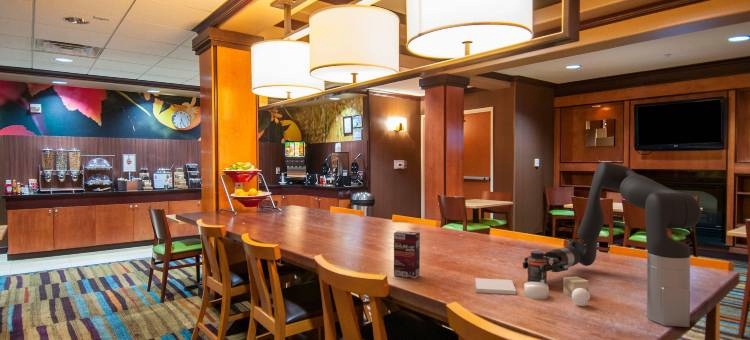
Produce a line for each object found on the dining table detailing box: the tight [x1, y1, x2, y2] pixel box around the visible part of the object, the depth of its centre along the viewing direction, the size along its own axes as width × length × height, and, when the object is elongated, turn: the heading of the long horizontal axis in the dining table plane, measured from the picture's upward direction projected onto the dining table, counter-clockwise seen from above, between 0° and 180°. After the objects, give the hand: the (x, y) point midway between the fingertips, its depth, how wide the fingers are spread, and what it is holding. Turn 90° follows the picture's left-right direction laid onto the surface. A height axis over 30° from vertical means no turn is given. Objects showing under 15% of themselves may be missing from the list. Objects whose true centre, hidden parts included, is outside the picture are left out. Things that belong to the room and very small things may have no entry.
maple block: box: [562, 276, 589, 298], centre depth 133 cm, size 5×5×5 cm
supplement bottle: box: [527, 250, 548, 284], centre depth 143 cm, size 6×6×11 cm
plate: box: [474, 277, 517, 295], centre depth 141 cm, size 12×12×1 cm
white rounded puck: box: [523, 281, 550, 300], centre depth 133 cm, size 7×7×4 cm
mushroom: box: [571, 288, 591, 307], centre depth 124 cm, size 5×5×5 cm
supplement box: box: [393, 230, 421, 279], centre depth 156 cm, size 9×5×16 cm, turn 65°
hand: (533, 267), depth 142 cm, fingers closed on supplement bottle, 6 cm apart
